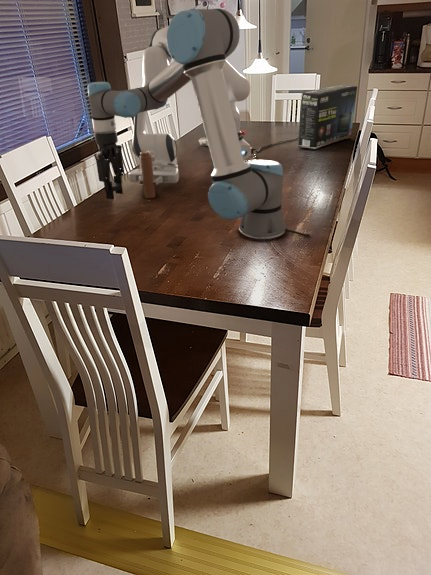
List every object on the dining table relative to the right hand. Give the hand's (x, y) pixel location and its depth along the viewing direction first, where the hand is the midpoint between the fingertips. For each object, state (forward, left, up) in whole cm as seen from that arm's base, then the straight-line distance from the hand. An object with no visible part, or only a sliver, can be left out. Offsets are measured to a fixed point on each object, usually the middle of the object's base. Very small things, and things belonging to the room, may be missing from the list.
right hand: (114, 195), depth 170 cm
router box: (-40, -123, -5) cm, 129 cm away
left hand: (-4, -16, +1) cm, 16 cm away
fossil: (+14, -98, -5) cm, 99 cm away
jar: (-3, -16, -5) cm, 17 cm away
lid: (0, 0, +4) cm, 4 cm away
